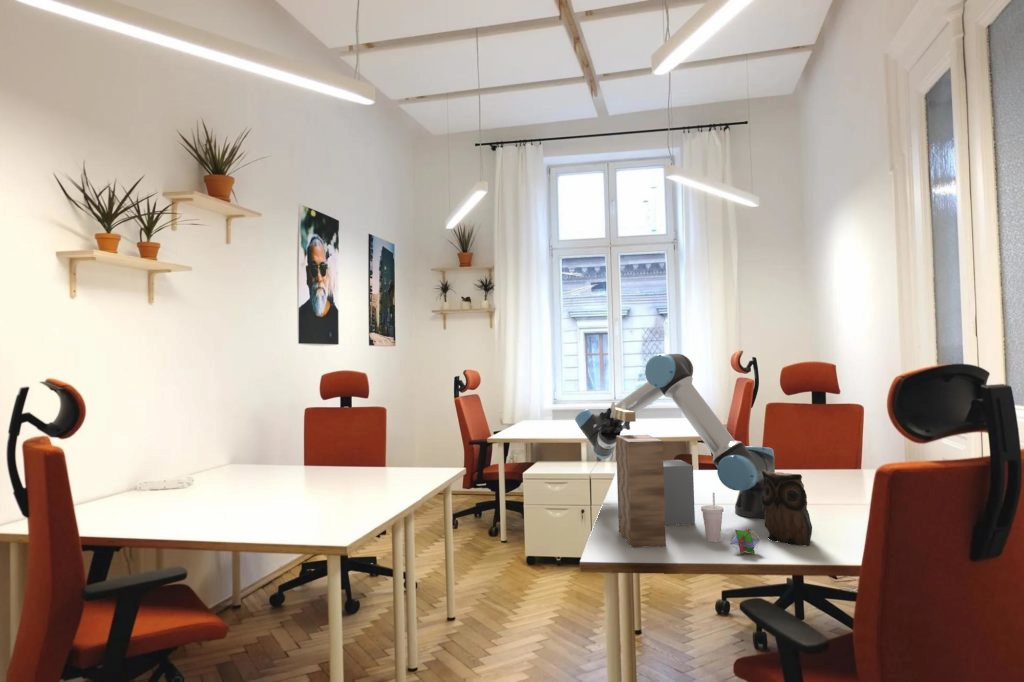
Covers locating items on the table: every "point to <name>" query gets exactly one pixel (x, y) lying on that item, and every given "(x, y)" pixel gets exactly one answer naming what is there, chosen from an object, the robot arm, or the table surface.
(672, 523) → the block
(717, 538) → the smoothie
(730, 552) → the table surface
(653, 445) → the tall wooden pillar
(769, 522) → the owl
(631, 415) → the notched wooden bar
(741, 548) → the geometric puzzle
